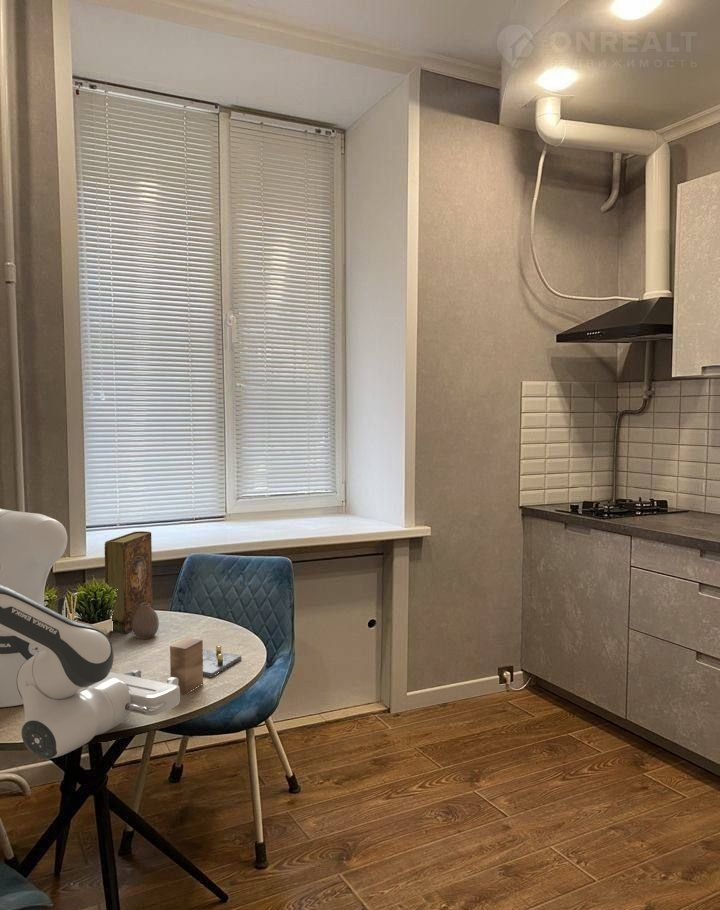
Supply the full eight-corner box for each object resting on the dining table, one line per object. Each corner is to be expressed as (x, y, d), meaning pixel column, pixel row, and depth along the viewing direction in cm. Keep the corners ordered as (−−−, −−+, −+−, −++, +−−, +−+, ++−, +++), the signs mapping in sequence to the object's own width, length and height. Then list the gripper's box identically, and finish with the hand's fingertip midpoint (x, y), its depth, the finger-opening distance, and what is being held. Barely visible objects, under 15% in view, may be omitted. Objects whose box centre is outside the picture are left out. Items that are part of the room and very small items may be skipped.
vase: (143, 642, 179) (142, 609, 179) (126, 637, 183) (125, 605, 182) (164, 635, 185) (164, 603, 184) (147, 630, 189) (146, 599, 188)
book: (137, 615, 202) (136, 531, 200) (154, 617, 201) (153, 531, 199) (106, 633, 186) (104, 541, 184) (124, 635, 185) (123, 542, 183)
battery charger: (73, 631, 188) (72, 590, 187) (85, 633, 187) (84, 591, 186) (55, 640, 181) (54, 597, 180) (68, 641, 180) (67, 598, 179)
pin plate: (172, 669, 161) (172, 657, 161) (203, 653, 172) (203, 641, 172) (211, 677, 157) (211, 664, 156) (241, 659, 168) (241, 647, 167)
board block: (170, 691, 149) (170, 646, 148) (188, 681, 154) (187, 637, 154) (186, 694, 147) (185, 648, 146) (203, 684, 153) (202, 640, 152)
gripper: (151, 696, 124) (198, 669, 137) (66, 678, 132) (118, 654, 145) (152, 730, 125) (199, 701, 137) (66, 710, 133) (118, 684, 146)
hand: (156, 677), depth 141 cm, fingers open, 8 cm apart
